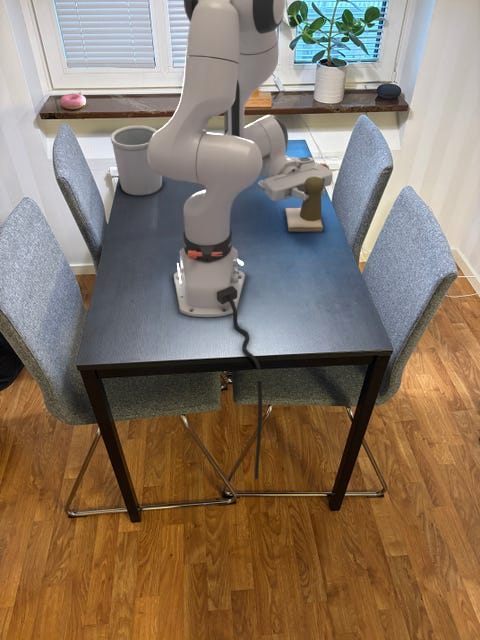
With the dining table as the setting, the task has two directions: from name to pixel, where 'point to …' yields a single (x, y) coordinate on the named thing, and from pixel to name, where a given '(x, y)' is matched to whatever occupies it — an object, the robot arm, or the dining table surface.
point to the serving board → (301, 222)
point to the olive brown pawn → (312, 199)
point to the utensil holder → (135, 160)
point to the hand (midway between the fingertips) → (315, 195)
